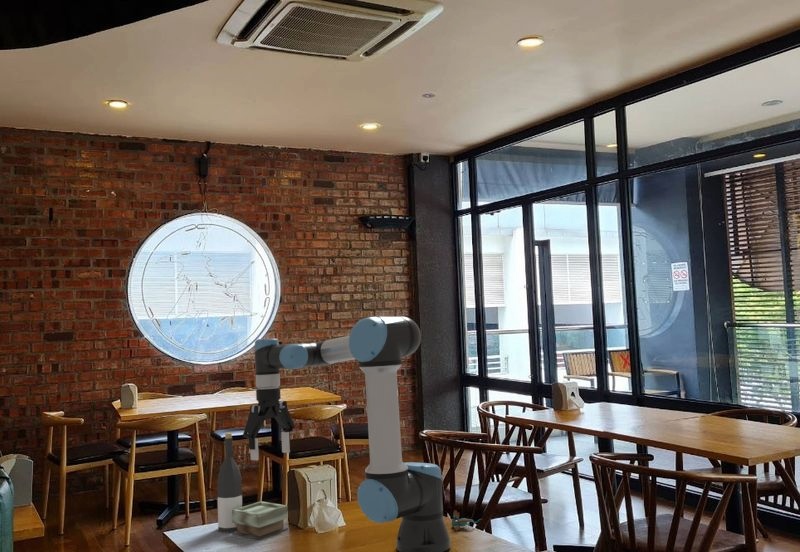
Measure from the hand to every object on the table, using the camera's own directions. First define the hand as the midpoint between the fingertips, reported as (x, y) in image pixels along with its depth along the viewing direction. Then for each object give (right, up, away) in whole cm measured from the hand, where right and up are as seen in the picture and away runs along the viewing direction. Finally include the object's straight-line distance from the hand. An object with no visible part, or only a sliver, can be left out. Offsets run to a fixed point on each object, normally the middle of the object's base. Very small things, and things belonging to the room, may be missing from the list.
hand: (270, 456), depth 230 cm
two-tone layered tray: (-3, -23, -2) cm, 23 cm away
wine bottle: (-13, -24, +2) cm, 27 cm away
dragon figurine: (+64, -19, -5) cm, 67 cm away
